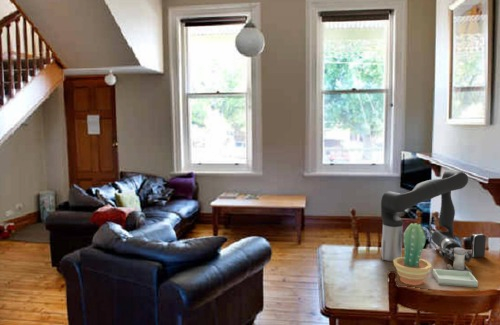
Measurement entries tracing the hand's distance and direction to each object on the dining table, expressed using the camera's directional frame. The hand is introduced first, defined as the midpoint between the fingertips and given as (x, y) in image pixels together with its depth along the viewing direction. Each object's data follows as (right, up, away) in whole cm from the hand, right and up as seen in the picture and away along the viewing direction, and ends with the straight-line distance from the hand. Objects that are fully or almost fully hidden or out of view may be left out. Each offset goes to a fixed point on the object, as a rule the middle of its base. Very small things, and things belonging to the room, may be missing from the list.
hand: (460, 259), depth 183 cm
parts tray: (-7, -7, -8) cm, 13 cm away
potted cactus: (-26, -7, -8) cm, 28 cm away
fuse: (+1, -6, +3) cm, 7 cm away
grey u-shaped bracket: (+1, -6, +3) cm, 7 cm away
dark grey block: (+19, -4, +21) cm, 29 cm away
